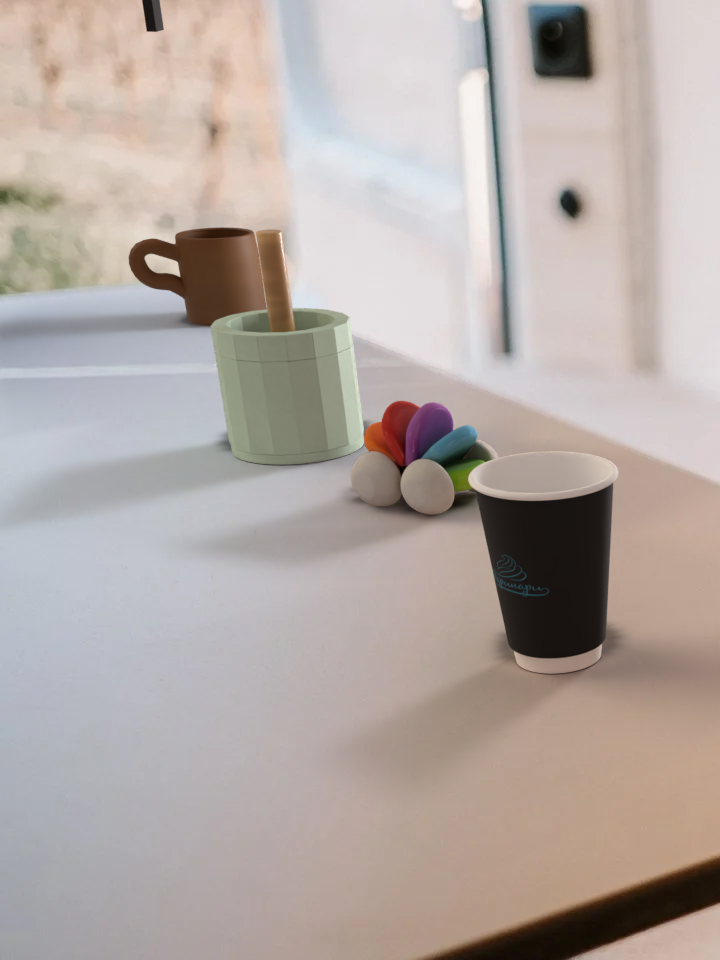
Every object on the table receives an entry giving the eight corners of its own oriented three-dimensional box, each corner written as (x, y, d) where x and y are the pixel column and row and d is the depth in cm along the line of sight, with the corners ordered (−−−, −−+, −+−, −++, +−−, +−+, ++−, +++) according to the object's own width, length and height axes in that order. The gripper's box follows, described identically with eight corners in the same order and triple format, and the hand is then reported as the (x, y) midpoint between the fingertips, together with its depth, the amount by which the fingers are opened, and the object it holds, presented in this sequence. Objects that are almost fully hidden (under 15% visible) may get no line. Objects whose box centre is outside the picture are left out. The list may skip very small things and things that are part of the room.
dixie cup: (474, 686, 88) (454, 494, 83) (500, 629, 95) (482, 450, 91) (621, 684, 88) (609, 494, 84) (636, 628, 96) (625, 450, 91)
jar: (221, 467, 122) (199, 337, 118) (243, 432, 131) (224, 309, 127) (357, 462, 124) (340, 333, 120) (370, 427, 133) (355, 306, 129)
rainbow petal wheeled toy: (413, 474, 122) (402, 380, 119) (521, 491, 119) (513, 395, 116) (336, 507, 114) (322, 407, 112) (449, 526, 111) (438, 424, 109)
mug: (144, 340, 159) (126, 243, 155) (138, 325, 165) (121, 231, 161) (273, 330, 164) (260, 236, 160) (263, 315, 170) (250, 225, 167)
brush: (279, 445, 125) (248, 236, 119) (269, 434, 128) (238, 229, 121) (327, 439, 127) (299, 233, 120) (316, 428, 130) (288, 226, 123)
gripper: (-183, -280, 119) (-118, 25, 128) (179, -256, 125) (218, 35, 133) (-143, -270, 126) (-84, 20, 135) (200, -248, 131) (236, 30, 140)
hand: (67, 28), depth 134 cm, fingers open, 13 cm apart
